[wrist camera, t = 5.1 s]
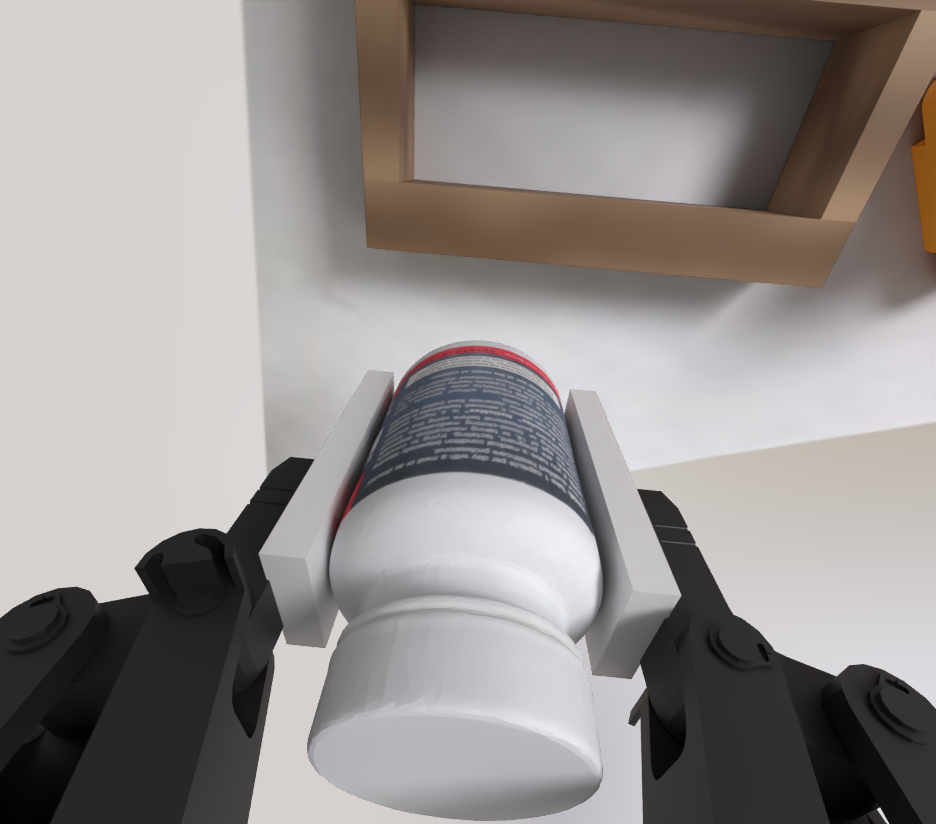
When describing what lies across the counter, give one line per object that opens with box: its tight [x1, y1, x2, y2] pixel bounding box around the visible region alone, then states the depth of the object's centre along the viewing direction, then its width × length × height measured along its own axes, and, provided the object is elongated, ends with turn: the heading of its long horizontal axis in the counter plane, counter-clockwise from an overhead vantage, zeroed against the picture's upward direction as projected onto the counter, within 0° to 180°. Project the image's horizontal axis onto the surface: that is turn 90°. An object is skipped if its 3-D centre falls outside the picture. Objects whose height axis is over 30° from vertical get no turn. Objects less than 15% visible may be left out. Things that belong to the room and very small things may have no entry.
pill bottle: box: [307, 341, 603, 821], centre depth 9 cm, size 5×5×9 cm
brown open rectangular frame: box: [355, 0, 936, 288], centre depth 17 cm, size 12×21×4 cm, turn 86°
